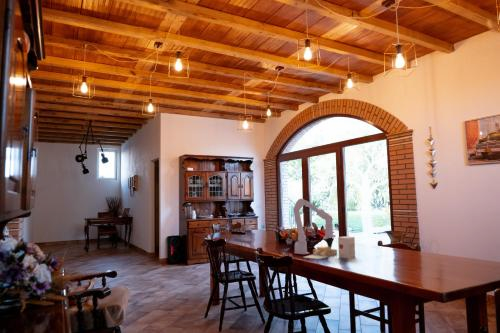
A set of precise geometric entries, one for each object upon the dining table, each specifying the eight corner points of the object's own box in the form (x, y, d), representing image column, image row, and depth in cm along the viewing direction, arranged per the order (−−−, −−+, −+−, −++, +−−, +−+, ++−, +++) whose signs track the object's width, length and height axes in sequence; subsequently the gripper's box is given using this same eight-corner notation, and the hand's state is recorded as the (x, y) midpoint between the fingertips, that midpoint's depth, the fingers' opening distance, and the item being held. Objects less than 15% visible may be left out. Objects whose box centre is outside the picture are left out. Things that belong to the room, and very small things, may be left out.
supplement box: (338, 257, 265) (337, 237, 266) (345, 256, 271) (344, 236, 272) (349, 258, 258) (348, 238, 259) (355, 257, 264) (354, 236, 265)
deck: (313, 255, 278) (313, 249, 279) (321, 253, 287) (321, 248, 287) (328, 256, 269) (328, 251, 269) (337, 254, 277) (336, 249, 277)
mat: (303, 257, 269) (302, 257, 269) (312, 255, 278) (312, 254, 278) (318, 259, 259) (318, 258, 259) (328, 256, 268) (328, 256, 268)
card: (317, 249, 278) (317, 247, 279) (321, 248, 283) (321, 246, 283) (327, 250, 272) (326, 248, 272) (331, 249, 276) (331, 247, 277)
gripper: (328, 231, 277) (329, 248, 275) (338, 229, 287) (339, 246, 286) (320, 230, 281) (321, 248, 280) (330, 229, 292) (331, 246, 291)
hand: (329, 247), depth 283 cm, fingers closed
